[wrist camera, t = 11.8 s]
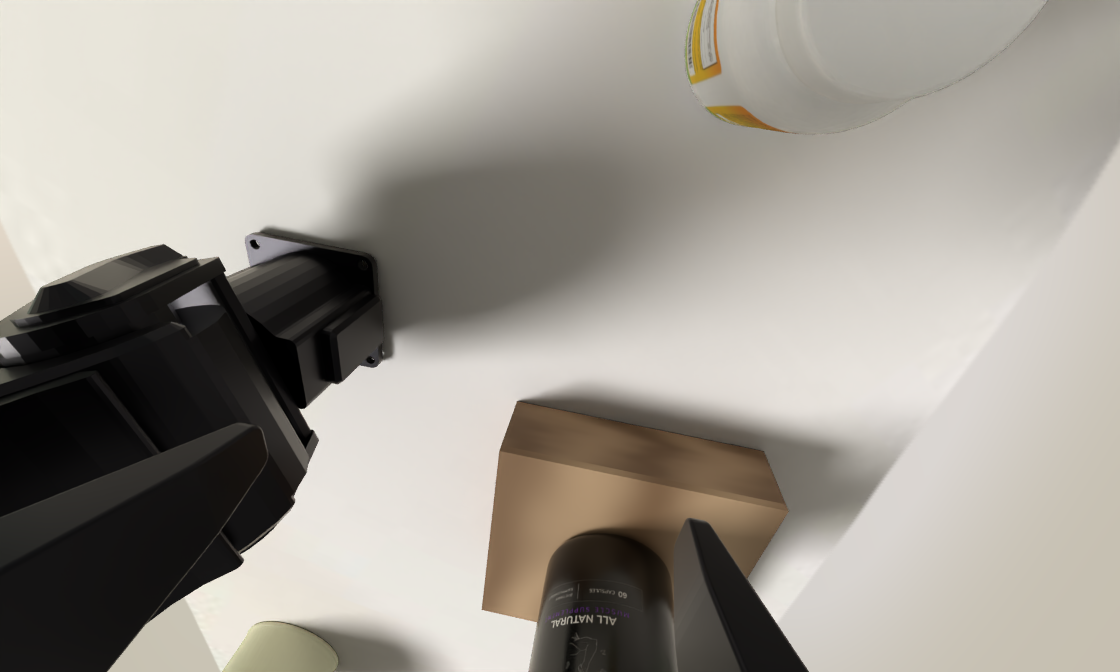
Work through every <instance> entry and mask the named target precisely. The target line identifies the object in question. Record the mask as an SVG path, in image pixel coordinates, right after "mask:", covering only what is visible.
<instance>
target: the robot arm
mask: <svg viewBox="0 0 1120 672" xmlns="http://www.w3.org/2000/svg"><path fill="white" fill-rule="evenodd" d="M256 241H257V242H258V243H259V245H260V246H259V245H258V244H257V243H256ZM245 244H246V249H247V253H248V258H249V263H250V267H248V268H246V269H244V270H241V271H239V272H236V273H234V274H232V275H229V276H227V277H226V276H225V274H224V272H225V271H226V270H225V268H224V266H223V264H222V262H221V260H220V259H219V257H213V258H207V259H200V260H197V258H188V257H187V256H182V255H181V254H179V253H177V252H176V251H174V250H173V249H171V248H169V247H168V246H166V245H164V244H162V245H156V246H150V247H147V248H143V249H140V250H137V251H133V252H130V253H126V254H123V255H120V256H116V257H113V258H110V259H107V260H103V261H100V262H98V263H95V264H92V265H89V266H87V267H85V268H82V269H80V270H78V271H76V272H73V273H71V274H69V275H67V276H65V277H62V278H60V279H58V280H56V281H53V282H51V283H49V284H47V285H44V286H42V287H41V288H40V290H39V291H38V293H37V295H36V297H35V299H34V300H33V301H31V302H30V303H28V304H26V305H25V306H23V307H22V308H20V309H19V310H17V311H15V312H14V313H12V314H11V315H9V316H7V317H6V318H4V319H3V320H1V321H0V672H107V671H108V670H109V669H110V668H111V666H112V665H113V664H114V663H115V662H116V660H117V659H118V658H119V657H120V655H121V654H122V653H123V652H124V650H125V649H126V648H127V647H128V645H129V644H130V643H131V642H132V641H133V639H134V638H135V637H136V636H137V634H138V633H139V632H140V631H141V629H142V628H143V627H144V626H145V624H147V623H148V622H149V621H150V620H152V619H153V618H155V617H156V616H157V615H159V614H160V613H161V612H163V611H164V610H165V609H167V608H168V607H169V606H170V605H172V604H173V603H175V602H177V601H178V600H180V599H182V598H183V597H185V596H186V595H188V594H190V593H191V592H193V591H194V590H196V589H198V588H199V587H201V586H202V585H204V584H206V583H208V582H210V581H212V580H215V579H217V578H219V577H221V576H223V575H225V574H227V573H229V572H231V571H233V570H235V569H237V568H238V567H240V566H241V565H242V563H243V562H244V559H243V557H242V556H241V555H240V554H242V553H243V552H245V551H247V550H248V549H250V548H251V547H252V546H254V545H255V544H256V543H258V542H259V541H260V540H262V539H263V538H264V537H265V536H266V535H267V534H268V533H269V532H270V531H272V530H273V529H274V528H275V526H276V525H277V524H278V523H279V522H280V521H281V520H282V518H283V517H284V516H285V515H286V514H287V513H288V512H289V511H290V510H291V509H292V507H293V505H294V503H295V499H294V495H295V492H296V490H297V488H298V486H299V484H300V483H301V481H302V479H303V478H304V476H305V474H306V473H307V467H308V464H309V461H310V459H311V457H312V455H313V452H314V450H315V448H316V446H317V444H318V441H319V439H318V438H317V436H316V434H315V432H314V431H313V430H310V428H309V426H308V425H307V423H306V421H305V419H304V417H303V416H302V414H301V412H300V410H299V408H300V409H305V408H306V407H307V406H308V405H309V404H310V403H311V402H312V401H313V400H314V399H316V398H317V397H318V396H319V395H320V394H321V393H322V392H323V391H324V390H325V389H326V388H327V387H328V386H329V385H330V384H331V383H333V384H339V383H341V382H342V381H344V380H345V379H346V378H347V377H348V376H349V375H350V374H351V373H352V372H353V371H354V370H355V369H356V368H357V367H358V366H359V365H361V366H366V367H371V368H374V367H377V366H378V365H379V364H380V363H381V361H382V359H383V356H382V342H383V341H384V331H383V314H382V300H381V299H380V297H379V292H378V276H377V263H376V260H375V259H374V257H373V256H371V255H370V254H367V253H363V252H358V251H353V250H348V249H342V248H337V247H332V246H327V245H322V244H316V243H311V242H306V241H301V240H296V239H290V238H285V237H280V236H275V235H270V234H264V233H259V232H255V233H252V234H250V235H248V236H246V238H245ZM362 260H363V261H365V262H366V263H367V265H368V268H367V267H365V266H364V265H363V263H362ZM370 356H371V357H373V358H374V360H373V359H371V358H370ZM674 638H675V650H676V659H677V669H678V672H809V671H808V670H807V668H806V667H805V665H804V664H803V662H802V661H801V659H800V658H799V656H798V655H797V653H796V652H795V650H794V649H793V647H792V646H791V644H790V643H789V641H788V640H787V638H786V637H785V636H784V634H783V632H782V631H781V629H780V628H779V626H778V625H777V623H776V622H775V620H774V619H773V617H772V616H771V614H770V613H769V611H768V610H767V608H766V607H765V605H764V604H763V602H762V601H761V599H760V598H759V596H758V595H757V593H756V592H755V590H754V589H753V587H752V586H751V584H750V583H749V581H748V580H747V578H746V577H745V575H744V574H743V572H742V571H741V569H740V568H739V566H738V565H737V564H736V562H735V561H734V559H733V558H732V556H731V555H730V553H729V552H728V550H727V549H726V547H725V546H724V544H723V543H722V541H721V540H720V538H719V537H718V535H717V534H716V532H715V531H714V529H713V528H712V526H711V525H710V524H709V523H708V522H707V521H704V520H700V519H695V518H687V519H686V520H685V522H684V524H683V526H682V529H681V531H680V533H679V535H678V537H677V540H676V542H675V546H674Z"/></svg>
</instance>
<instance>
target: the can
mask: <svg viewBox="0 0 1120 672" xmlns="http://www.w3.org/2000/svg"><path fill="white" fill-rule="evenodd" d="M337 665H338V657H337V654H336V652H335V651H334V650H333V648H332V647H331V646H330V645H329V644H328V643H326V642H325V641H324V640H323V639H321V638H320V637H318V636H317V635H315V634H313V633H311V632H309V631H307V630H305V629H302V628H300V627H297V626H294V625H290V624H286V623H281V622H262V623H258V624H256V625H254V626H252V627H251V628H250V629H249V631H248V633H247V635H246V637H245V639H244V640H243V642H242V643H241V645H240V646H239V648H238V649H237V651H236V652H235V654H234V655H233V657H232V658H231V659H230V661H229V662H228V664H227V665H226V667H225V668H224V670H223V671H222V672H333V671H334V670H335V669H336V668H337Z"/></svg>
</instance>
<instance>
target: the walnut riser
mask: <svg viewBox="0 0 1120 672" xmlns="http://www.w3.org/2000/svg"><path fill="white" fill-rule="evenodd" d="M788 512H789V511H788V509H787V506H786V504H785V501H784V499H783V497H782V494H781V492H780V489H779V487H778V484H777V482H776V480H775V477H774V475H773V472H772V470H771V468H770V465H769V463H768V460H767V458H766V455H765V453H764V451H759V450H754V449H749V448H744V447H740V446H735V445H730V444H725V443H720V442H715V441H710V440H705V439H700V438H695V437H690V436H685V435H681V434H676V433H671V432H666V431H661V430H656V429H651V428H646V427H641V426H636V425H631V424H627V423H622V422H617V421H612V420H607V419H602V418H597V417H592V416H587V415H582V414H577V413H573V412H568V411H563V410H558V409H553V408H548V407H543V406H538V405H533V404H528V403H523V402H519V401H517V403H516V406H515V409H514V412H513V414H512V417H511V420H510V423H509V426H508V428H507V431H506V434H505V437H504V440H503V442H502V445H501V448H500V451H499V460H498V469H497V478H496V487H495V496H494V505H493V514H492V523H491V532H490V541H489V550H488V559H487V568H486V577H485V586H484V595H483V604H482V610H485V611H490V612H494V613H499V614H503V615H508V616H512V617H516V618H521V619H525V620H530V621H534V622H537V621H538V615H539V609H540V604H541V598H542V593H543V587H544V582H545V577H546V572H547V567H548V563H549V560H550V558H551V556H552V555H553V553H554V552H555V551H556V549H557V548H558V547H560V546H561V545H562V544H563V543H565V542H566V541H568V540H570V539H572V538H575V537H578V536H581V535H586V534H592V533H608V534H616V535H621V536H625V537H628V538H631V539H634V540H636V541H638V542H640V543H642V544H644V545H646V546H647V547H649V548H650V549H652V550H653V551H654V552H655V553H656V554H657V555H658V556H659V557H660V558H661V559H662V560H663V562H664V563H665V565H666V566H667V568H668V571H669V573H670V577H671V582H672V591H673V600H674V546H675V542H676V540H677V537H678V535H679V533H680V531H681V529H682V526H683V524H684V522H685V520H686V519H687V518H695V519H700V520H704V521H707V522H708V523H709V524H710V525H711V526H712V528H713V529H714V531H715V532H716V534H717V535H718V537H719V538H720V540H721V541H722V543H723V544H724V546H725V547H726V549H727V550H728V552H729V553H730V555H731V556H732V558H733V559H734V561H735V562H736V564H737V565H738V566H739V568H740V569H741V571H742V572H743V574H744V575H745V577H746V578H748V576H749V574H750V573H751V571H752V570H753V568H754V566H755V565H756V563H757V561H758V560H759V558H760V557H761V555H762V553H763V552H764V550H765V549H766V547H767V545H768V544H769V542H770V541H771V539H772V537H773V536H774V534H775V532H776V531H777V529H778V528H779V526H780V524H781V523H782V521H783V520H784V518H785V516H786V515H787V513H788Z"/></svg>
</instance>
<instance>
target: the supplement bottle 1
mask: <svg viewBox="0 0 1120 672" xmlns="http://www.w3.org/2000/svg"><path fill="white" fill-rule="evenodd" d="M528 672H678V669H677V659H676V650H675V638H674V600H673V591H672V582H671V577H670V573H669V571H668V568H667V566H666V565H665V563H664V562H663V560H662V559H661V558H660V557H659V556H658V555H657V554H656V553H655V552H654V551H653V550H652V549H650V548H649V547H647V546H646V545H644V544H642V543H640V542H638V541H636V540H634V539H631V538H628V537H625V536H621V535H616V534H608V533H592V534H586V535H581V536H578V537H575V538H572V539H570V540H568V541H566V542H565V543H563V544H562V545H561V546H560V547H558V548H557V549H556V551H555V552H554V553H553V555H552V556H551V558H550V560H549V563H548V567H547V572H546V577H545V582H544V587H543V593H542V598H541V604H540V609H539V615H538V621H537V626H536V632H535V638H534V643H533V649H532V654H531V660H530V666H529V671H528Z"/></svg>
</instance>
